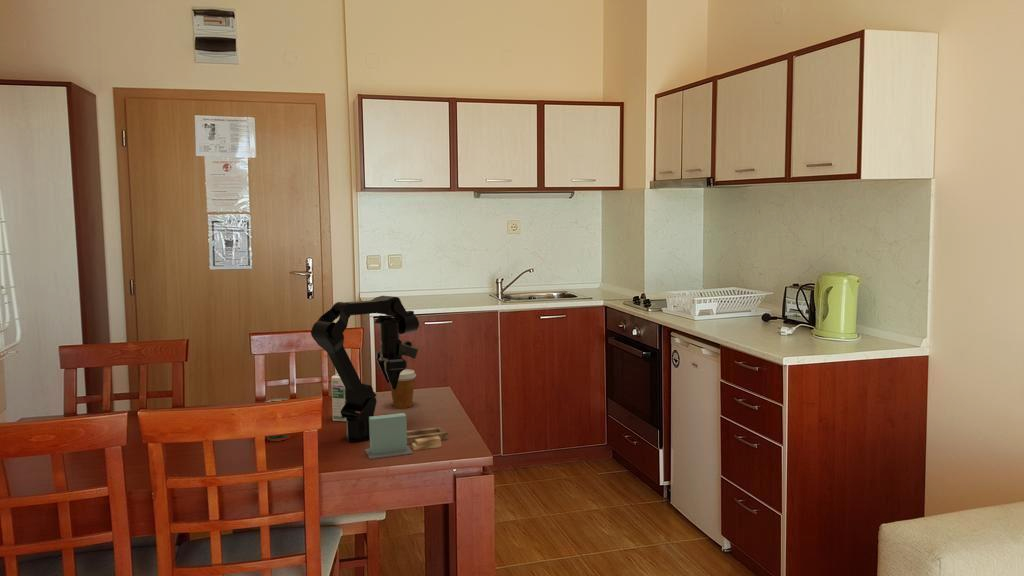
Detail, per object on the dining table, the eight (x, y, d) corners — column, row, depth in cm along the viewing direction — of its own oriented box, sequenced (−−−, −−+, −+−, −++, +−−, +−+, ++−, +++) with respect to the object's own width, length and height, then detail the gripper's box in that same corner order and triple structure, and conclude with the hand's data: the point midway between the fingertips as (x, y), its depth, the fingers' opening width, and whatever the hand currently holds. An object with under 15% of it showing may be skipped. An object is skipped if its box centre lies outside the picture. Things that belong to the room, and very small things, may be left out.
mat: (369, 459, 211) (369, 458, 211) (365, 450, 219) (364, 449, 218) (412, 453, 215) (412, 452, 215) (406, 445, 223) (406, 444, 223)
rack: (397, 445, 222) (397, 439, 222) (392, 439, 229) (392, 432, 228) (447, 439, 228) (447, 433, 227) (441, 433, 234) (441, 426, 233)
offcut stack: (414, 450, 218) (413, 442, 218) (411, 447, 221) (411, 439, 221) (441, 447, 221) (441, 438, 221) (438, 443, 224) (438, 435, 223)
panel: (371, 454, 214) (370, 419, 213) (370, 451, 217) (368, 416, 215) (407, 450, 217) (406, 415, 216) (405, 447, 220) (404, 412, 219)
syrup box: (332, 421, 248) (330, 376, 246) (340, 415, 253) (338, 372, 252) (348, 422, 246) (346, 377, 245) (356, 416, 252) (354, 373, 250)
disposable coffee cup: (391, 402, 269) (390, 368, 268) (418, 402, 269) (417, 368, 268) (386, 409, 260) (385, 375, 259) (414, 409, 260) (413, 375, 258)
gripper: (422, 339, 232) (423, 390, 234) (408, 329, 249) (410, 377, 251) (385, 342, 228) (387, 393, 230) (374, 332, 245) (376, 380, 247)
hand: (391, 385), depth 240 cm, fingers open, 9 cm apart
